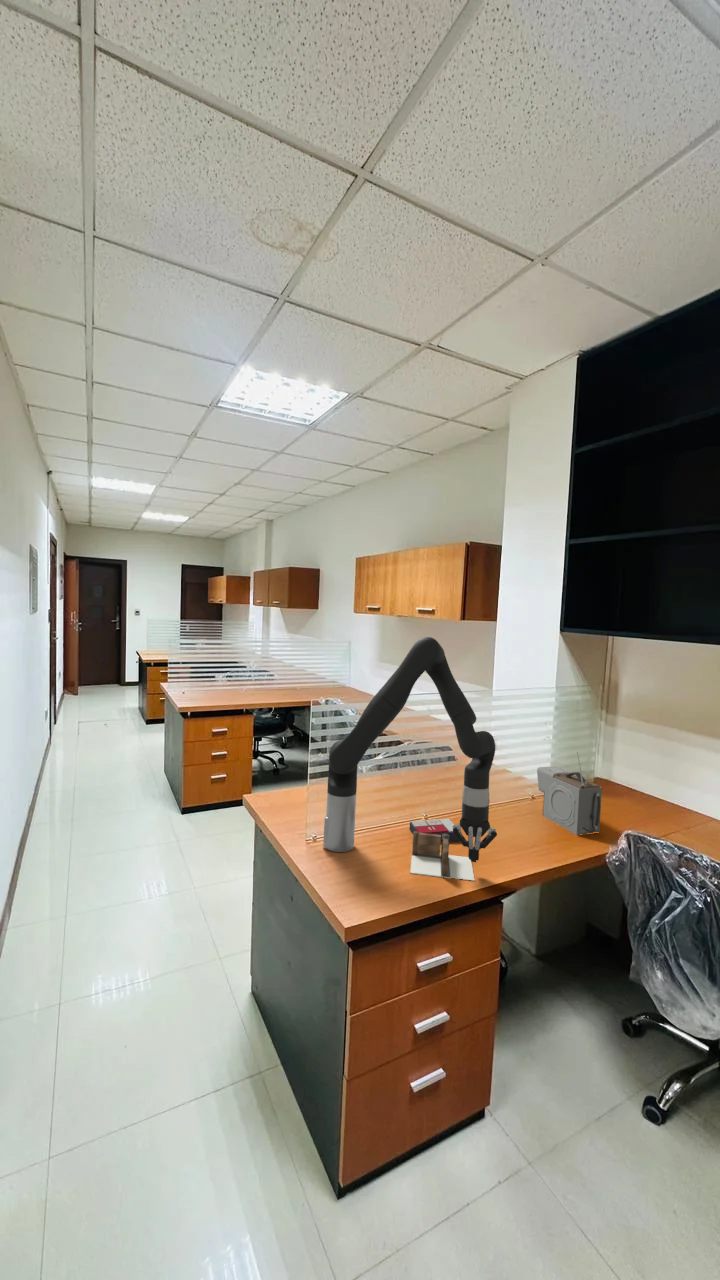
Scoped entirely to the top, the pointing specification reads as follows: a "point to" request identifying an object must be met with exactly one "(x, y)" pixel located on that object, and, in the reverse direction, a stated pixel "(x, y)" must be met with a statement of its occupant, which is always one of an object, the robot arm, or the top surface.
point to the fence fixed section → (428, 843)
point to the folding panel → (445, 857)
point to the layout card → (432, 865)
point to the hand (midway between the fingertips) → (473, 860)
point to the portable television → (570, 799)
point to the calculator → (435, 828)
